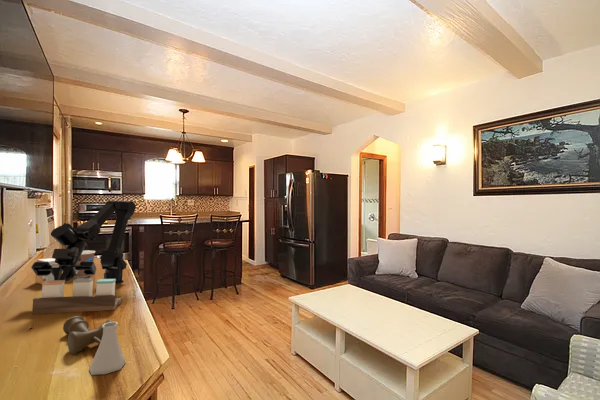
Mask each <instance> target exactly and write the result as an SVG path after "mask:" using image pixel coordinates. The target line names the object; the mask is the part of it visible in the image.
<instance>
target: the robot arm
mask: <svg viewBox="0 0 600 400" xmlns="http://www.w3.org/2000/svg"><path fill="white" fill-rule="evenodd" d="M136 206H137V205H136V204H135V202H134V201H133V200H109V199H108V200H107V201H106V202H105V205H103V206H102V207H101V208H100V209H99V210H98V211H97V212H96V213H95V214H94V215H93V216H92V217H91V218H90V219H88V221H85V222H82V223H81V224H80V225H78V226H77V227H75V228H74V227H72V224H70V223H63V224H62V225H59V226H56V228H52V230H51V232H50V237H52V238H53V239H54V240H56V241H57V243H59V245H61V246H63V247H64V246H65V248H54V249H53V252H52V256H51V258H52V259H55V263H58V264H52V265H50V264H49V262H48V261H41V262H37V261H34V262H33V263H32V265H31V270H32V271H33V273H34V274H35V276H36V275H38V276H47V275H49V274H51V273H52V275H53V276H54V280H65V283H64V285H65V284H66V283H67V282H69V281H70V280H72V279H73V278H75V277H76V276H77V272H78V271H79V270H85V271H84V273H85V274H86V275H90V276H93V275H95V274H96V273H97V266H96V263H95V262H94V260H93V261H82V262H81V263H80V265H77V263H78V261H80V260H81V258H80V256H81V254H82V252H83V251H85V250H89V245H88V244H87V242H86V241H94V240H96V238H97V237H98V236H99V234H100V233H101V227H102V226H103V225H104V224H105V223H106V222H107V221H108V219H110V218H111V217H112V215H113V214H115V216H116V219H115V222H114V227H113V230H112V233H111V237H110V241H109V244H108V247H107V248H106V249H103V250H102V251H101V255H100V257H99V259H100V261H99V262H100V266H101V268H102V270H104V273H103V279H116V281H115V284H117V283H124V282H125V281H124V280H123V271H124V270H125V269H126V268H127V265H128V263H127V262H126V261H125V260H124V252H123V249H122V246H123V242H124V238H125V234H126V230H127V227H128V222H129V219H130V218H131V217H132V216H134V213H135V210H136V208H137V207H136Z"/></svg>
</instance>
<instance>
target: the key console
mask: <svg viewBox="0 0 600 400" xmlns="http://www.w3.org/2000/svg"><path fill="white" fill-rule="evenodd" d="M122 302H123V297H117V295H116V294H115V295H98V296H96V295H92V296H73V295H72V296H64V297H47V298H42V297H34V298H33V299H32V308H31V310H32V312H31V313H32V315H37V314H38V315H40V314H42V315H43V314H56V313H59V314H61V313H77V312H79V313H80V312H96V311H97V312H98V311H113V310H114V311H115V309H116V308H117V307H119V306H120V304H121V303H122Z"/></svg>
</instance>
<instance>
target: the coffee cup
mask: <svg viewBox="0 0 600 400" xmlns="http://www.w3.org/2000/svg"><path fill="white" fill-rule="evenodd" d="M95 253H96V250H89V249H84V250H83V252H82V254H81V256H80V258H81V260H80V261H78V263H77V265H80V263H81V262H82V261H93V262H94V259H95ZM84 271H85V270H79V271H78V272H77V276H76V277H77V278H88V277H90V276H91V275H86V274H85V273H84ZM77 278H76V279H77Z"/></svg>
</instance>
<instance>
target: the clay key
mask: <svg viewBox="0 0 600 400" xmlns="http://www.w3.org/2000/svg"><path fill="white" fill-rule="evenodd" d="M64 283H65V280H47V281H45V282H43V283H42V284H41V286H42V287H41V288H42V289H41V298H47V297H65V296H64V295H65V294H64V292H65V284H66V283H65V284H64Z"/></svg>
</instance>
